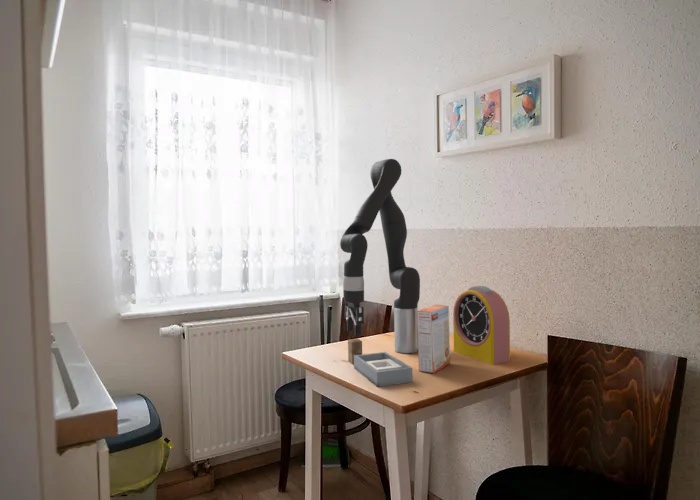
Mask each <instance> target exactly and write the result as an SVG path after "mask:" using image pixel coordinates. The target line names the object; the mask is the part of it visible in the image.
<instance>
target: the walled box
mask: <svg viewBox="0 0 700 500" xmlns="http://www.w3.org/2000/svg"><path fill="white" fill-rule="evenodd" d="M353 369H354V370H356V371H357V372H358V373H360V374H361V375H362V376H363V377H364V378H366V379H367V380H368V381H369V382H370V383H372V384H373V385H374V386H375V387H377V388H379V387H386V386H393V385H400V384H408V383H413V367H411V366H410V365H408V364H406V363H405V362H404V361H402V360H400V359H398V358H396V357H395V356H393V355H391V354H390V353H388V352H386V351H382V352H373V353H372V352H371V353H366V354H365V353H364V354H363V353H362V355H354V364H353Z"/></svg>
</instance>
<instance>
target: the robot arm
mask: <svg viewBox="0 0 700 500" xmlns="http://www.w3.org/2000/svg"><path fill="white" fill-rule="evenodd" d="M369 171H370V173H369V175H370V179H371V184H372V186H373V190H372V191H371V193H370V194H369V195H368V196H367V197H366V198H365V200H364V201H363V202H362V204H361V205H360V207H359V208H358V210H357V213H356V214H355V217H354V219H353V221H352V222H351V223H350V225H349V226H348V227H347V228H346V229H345V231H344V232H343V233H342V235H341V238H340V241H339V242H340V243H339V245H340V249H341V251H343V252H344V253H347V254H350V258H349V259H347V260H346V261H344V262H343V263H344V264H343V283H342V285H343V287H342V288H343V302H344V319H346V331H347V332H353V331H354V336H356V337H357V336H358V337H359V336H361V335H362V325H364V324H365V320H364V318H365V317H364V313H365V312H364V307H363V306H361V305H360V303H363V302H364V301H365V279H364V263H365V260H366V255H367V252H368V246H369V245H368V240H367V238H366V236H365V235H364V234H367V233H369V231H371V229H372V227H373V226H374V223H375V220H376V218H377V216H378V215H380V221H381V226H382V233H383V238H384V243H385V248H386V253H387V254H386V255H387V266H388V275H389V276H388V277H389V281H390V284H391V286H392V287H393V288H394V289H396V290H399V297H398V298H397V299H395V300H394V302H393V316H394V322H393V323H394V324H393V325H394V351H395V352H396V353H401V354H414V353H417V352H418V322H417V311H419V310H418V307H419V306H418V305H419V302H420V301H419V300H420V294H421V292H420V290H421V289H420V288H421V278H420V277H421V276H420V274H419V271H418V270H417V269H416V268H415V267H410V266H407V265H406V261H405V254H404V250H405V246H406V241H407V236H408V229H407V223H406V218H405V214H404V213H403V211H402V209H401V208H400V206H399V205H398V203H397V201H396V200H395V199H394V197H393V194H392V190H393V189H394V188H395V186H396V184H397V183H398V181H399V179H400V178H401V176H402V165H401V164H400V162H399V160H397V159H395V158H387V159H383V160H378V161H374V162H373V164H372V165H371V166H370V170H369Z"/></svg>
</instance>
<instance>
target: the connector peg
mask: <svg viewBox="0 0 700 500" xmlns="http://www.w3.org/2000/svg"><path fill="white" fill-rule="evenodd" d="M347 351H348V352H347V353H348V361H347V362H349V363H350V364H351V365H354V355H363V341H362V340H361V339H359V338H355V339H353V338H352V339H347Z"/></svg>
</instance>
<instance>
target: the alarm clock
mask: <svg viewBox="0 0 700 500" xmlns="http://www.w3.org/2000/svg"><path fill="white" fill-rule="evenodd" d="M452 315H453V316H452V318H453V319H452V320H453V353H455V354H459V355H463V356H465V357H468V358H471V359H473V360H477V361H480V362H482V363H485V364H489V365H497V364H503V363H508V362H510V361H511V328H510V327H511V323H510V321H511V320H510V319H511V318H510V313H509V309H508V306H507V304H506V302H505V300H504V299H503V298H502V296H501V295H500V294H499V293H498V292H496V291H495V290H493V289H491V288H490V287H487V286H485V285H474V286H470V287H469V288H468V289H467V290H465V291H463V292H461V293H460V294H459V296H458V297H457V299H456V300H455V302H454V306H453V313H452Z"/></svg>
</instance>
